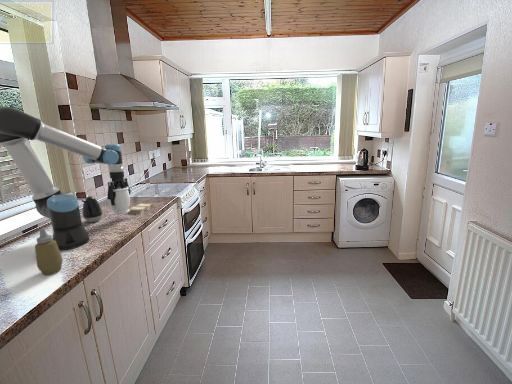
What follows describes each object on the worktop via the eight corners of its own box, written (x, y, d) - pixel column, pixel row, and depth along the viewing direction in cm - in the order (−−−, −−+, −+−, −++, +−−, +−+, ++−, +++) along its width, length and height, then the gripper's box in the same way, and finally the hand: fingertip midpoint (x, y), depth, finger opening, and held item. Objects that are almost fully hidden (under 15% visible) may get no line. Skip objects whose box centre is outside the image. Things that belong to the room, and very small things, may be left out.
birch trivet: (140, 213, 174) (140, 210, 174) (128, 213, 176) (127, 209, 176) (152, 207, 188) (152, 203, 187) (141, 206, 189) (140, 203, 189)
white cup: (110, 215, 159) (106, 190, 155) (114, 210, 168) (110, 186, 165) (130, 213, 161) (126, 189, 158) (132, 209, 171) (129, 185, 168)
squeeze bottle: (34, 274, 105) (23, 231, 100) (55, 264, 112) (46, 223, 108) (48, 278, 102) (37, 233, 97) (69, 267, 109) (60, 225, 105)
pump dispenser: (79, 223, 161) (74, 198, 157) (95, 217, 170) (90, 193, 167) (92, 224, 157) (87, 199, 154) (107, 218, 167) (103, 194, 163)
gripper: (108, 174, 148) (113, 213, 153) (134, 168, 169) (138, 202, 174) (96, 174, 149) (101, 213, 154) (123, 168, 171) (128, 202, 176)
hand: (121, 207), depth 164 cm, fingers closed on white cup, 10 cm apart
